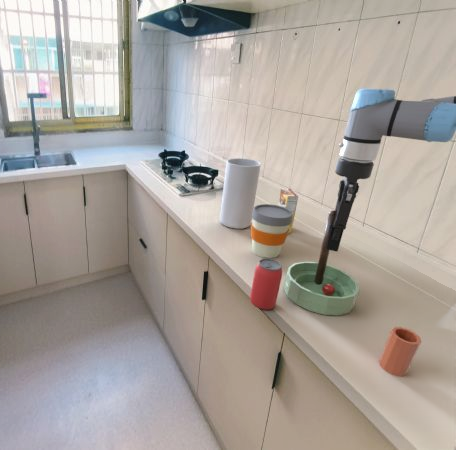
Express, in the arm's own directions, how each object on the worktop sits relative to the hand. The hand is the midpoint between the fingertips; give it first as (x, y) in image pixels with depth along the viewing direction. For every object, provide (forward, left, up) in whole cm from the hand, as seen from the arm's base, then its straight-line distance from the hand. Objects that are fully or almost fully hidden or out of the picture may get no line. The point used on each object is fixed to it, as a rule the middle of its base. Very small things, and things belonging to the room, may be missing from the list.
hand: (331, 247), depth 89 cm
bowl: (+1, +3, -14) cm, 14 cm away
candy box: (+15, -40, -14) cm, 45 cm away
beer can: (+14, +13, -14) cm, 24 cm away
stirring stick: (+1, 0, -12) cm, 12 cm away
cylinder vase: (+33, -36, -14) cm, 51 cm away
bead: (-2, +2, -12) cm, 12 cm away
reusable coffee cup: (+18, -17, -14) cm, 28 cm away
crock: (-14, +23, -14) cm, 31 cm away
